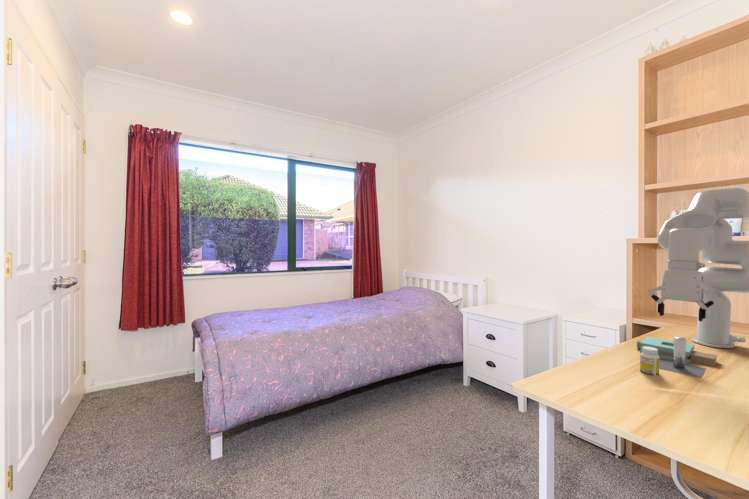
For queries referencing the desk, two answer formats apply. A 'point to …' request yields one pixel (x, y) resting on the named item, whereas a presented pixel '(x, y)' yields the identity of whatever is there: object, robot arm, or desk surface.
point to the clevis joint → (667, 350)
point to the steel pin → (679, 352)
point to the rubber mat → (688, 369)
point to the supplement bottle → (649, 361)
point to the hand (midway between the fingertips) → (680, 317)
